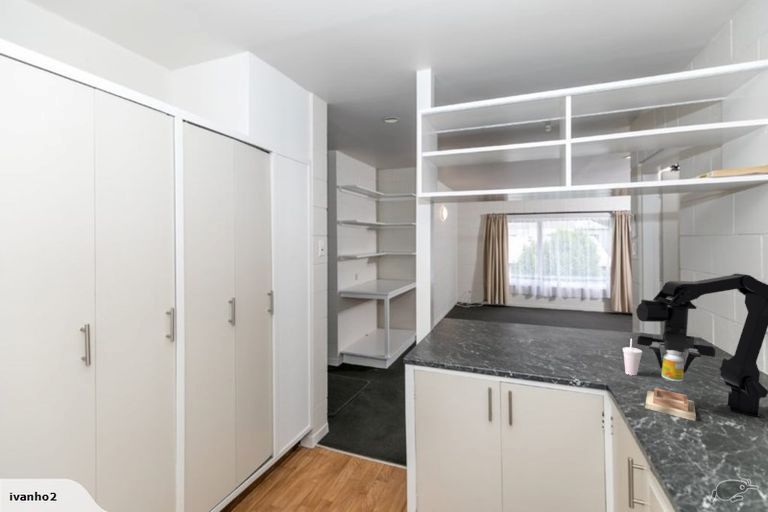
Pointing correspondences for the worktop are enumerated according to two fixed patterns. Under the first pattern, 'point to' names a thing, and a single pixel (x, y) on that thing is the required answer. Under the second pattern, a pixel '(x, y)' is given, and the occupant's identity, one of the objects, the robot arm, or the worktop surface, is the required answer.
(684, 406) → the birch stand
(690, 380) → the worktop surface
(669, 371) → the supplement bottle
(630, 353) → the smoothie
